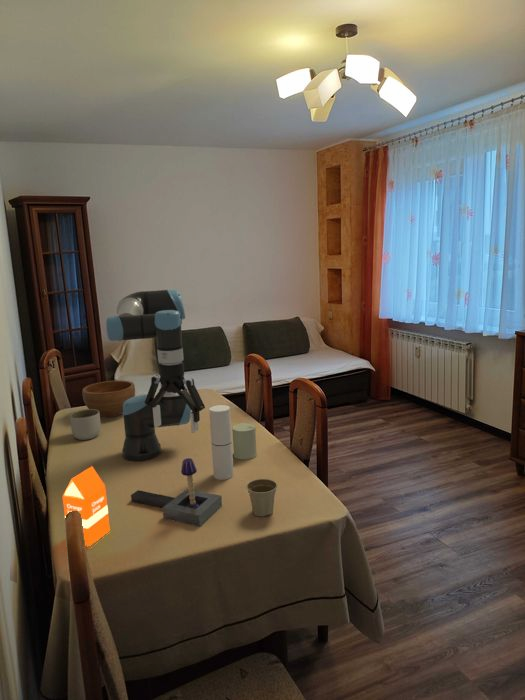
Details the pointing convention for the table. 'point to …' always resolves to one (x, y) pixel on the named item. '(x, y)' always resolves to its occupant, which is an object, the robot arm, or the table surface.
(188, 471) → the toy lamp
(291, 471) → the table surface
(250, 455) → the can
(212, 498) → the block
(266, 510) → the flower pot
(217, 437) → the cylindrical container
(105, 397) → the bowl
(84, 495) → the orange juice
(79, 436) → the planter
